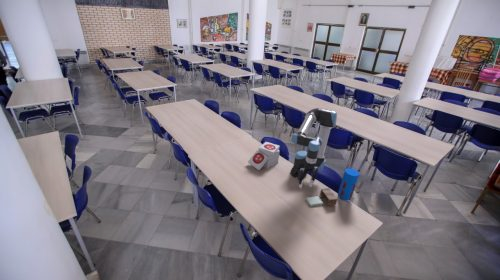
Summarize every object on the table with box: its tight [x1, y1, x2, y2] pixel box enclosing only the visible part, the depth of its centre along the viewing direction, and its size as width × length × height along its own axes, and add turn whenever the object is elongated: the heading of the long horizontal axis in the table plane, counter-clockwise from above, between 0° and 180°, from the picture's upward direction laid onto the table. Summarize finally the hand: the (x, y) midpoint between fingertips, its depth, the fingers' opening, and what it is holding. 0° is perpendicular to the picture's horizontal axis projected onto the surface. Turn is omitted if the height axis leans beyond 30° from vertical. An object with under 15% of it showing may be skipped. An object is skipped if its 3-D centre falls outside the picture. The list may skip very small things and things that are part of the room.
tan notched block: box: [319, 187, 338, 207], centre depth 192 cm, size 13×7×7 cm, turn 14°
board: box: [305, 195, 324, 207], centre depth 190 cm, size 8×11×2 cm
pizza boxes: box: [247, 141, 281, 171], centre depth 231 cm, size 19×30×18 cm, turn 130°
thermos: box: [337, 167, 360, 202], centre depth 193 cm, size 11×11×25 cm
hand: (305, 186), depth 180 cm, fingers open, 8 cm apart
